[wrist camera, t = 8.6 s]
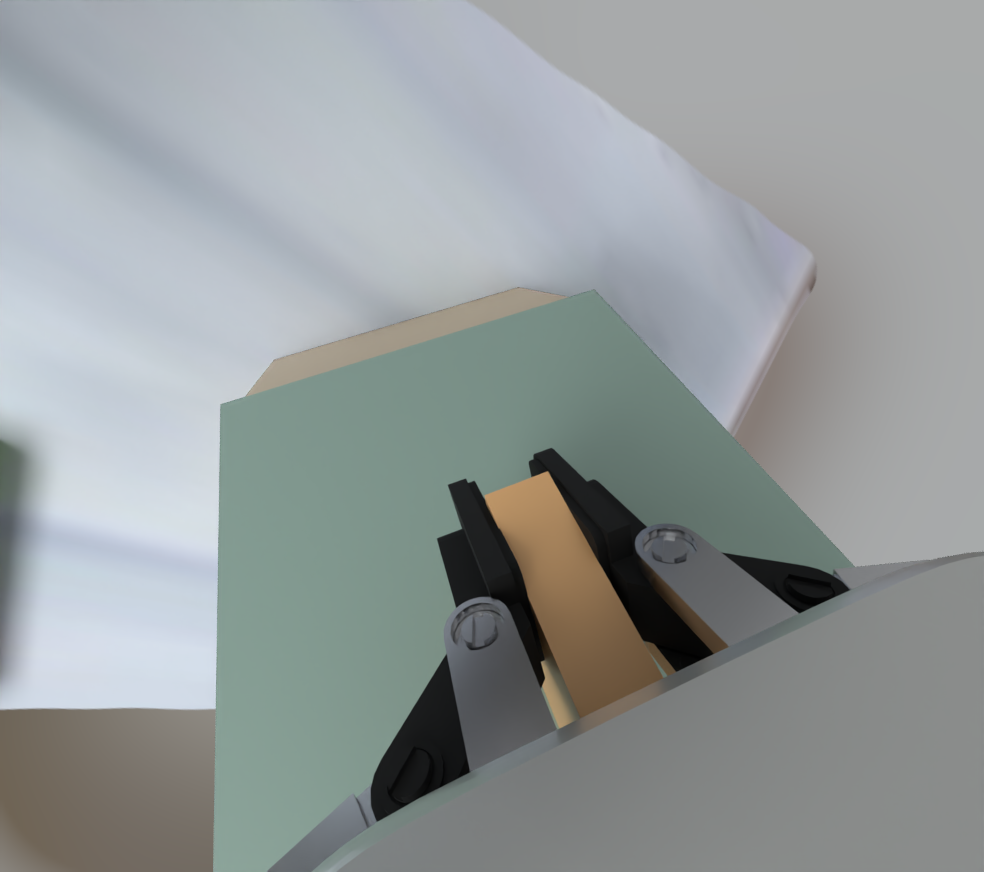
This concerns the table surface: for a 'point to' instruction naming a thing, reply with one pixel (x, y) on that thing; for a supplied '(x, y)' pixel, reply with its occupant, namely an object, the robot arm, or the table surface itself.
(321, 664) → the lid
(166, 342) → the table surface
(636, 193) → the table surface
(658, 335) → the table surface
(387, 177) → the table surface
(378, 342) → the carton
